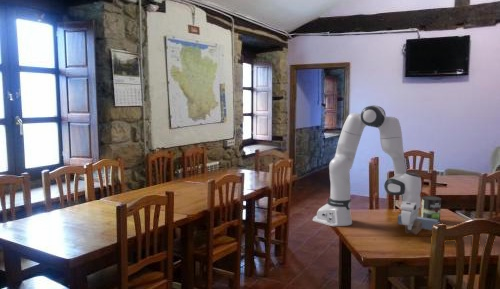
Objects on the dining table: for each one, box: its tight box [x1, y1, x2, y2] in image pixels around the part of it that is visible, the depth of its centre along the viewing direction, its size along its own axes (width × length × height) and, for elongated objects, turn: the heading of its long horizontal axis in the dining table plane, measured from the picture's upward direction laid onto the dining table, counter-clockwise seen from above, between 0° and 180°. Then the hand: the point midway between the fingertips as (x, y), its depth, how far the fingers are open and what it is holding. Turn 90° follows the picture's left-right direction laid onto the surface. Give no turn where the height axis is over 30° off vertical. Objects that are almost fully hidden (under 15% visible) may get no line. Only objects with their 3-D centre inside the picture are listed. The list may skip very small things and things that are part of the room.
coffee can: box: [420, 195, 442, 224], centre depth 231 cm, size 10×10×14 cm
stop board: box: [397, 213, 438, 231], centre depth 222 cm, size 20×4×5 cm, turn 54°
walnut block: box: [404, 220, 422, 235], centre depth 214 cm, size 6×10×4 cm, turn 143°
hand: (410, 229), depth 209 cm, fingers closed
